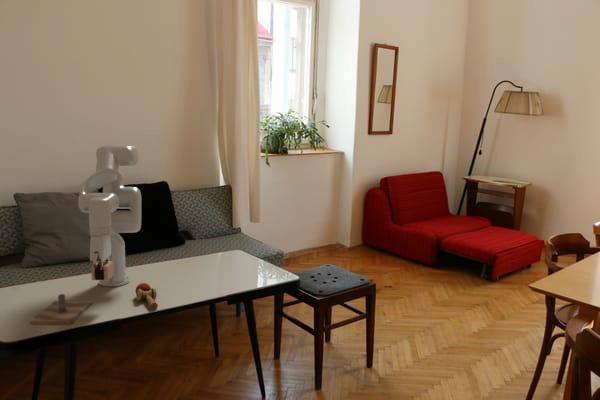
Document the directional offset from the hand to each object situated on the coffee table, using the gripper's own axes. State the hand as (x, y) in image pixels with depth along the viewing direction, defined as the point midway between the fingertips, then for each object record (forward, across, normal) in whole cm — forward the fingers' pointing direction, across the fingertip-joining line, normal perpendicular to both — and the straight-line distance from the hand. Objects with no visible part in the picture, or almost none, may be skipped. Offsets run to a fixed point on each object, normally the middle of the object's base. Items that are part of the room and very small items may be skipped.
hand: (102, 275), depth 200 cm
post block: (+12, +7, -13) cm, 19 cm away
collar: (+1, 0, 0) cm, 1 cm away
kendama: (+13, -6, +15) cm, 21 cm away
